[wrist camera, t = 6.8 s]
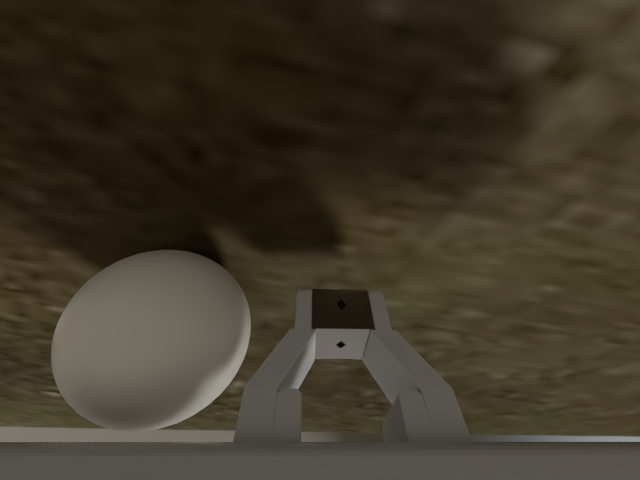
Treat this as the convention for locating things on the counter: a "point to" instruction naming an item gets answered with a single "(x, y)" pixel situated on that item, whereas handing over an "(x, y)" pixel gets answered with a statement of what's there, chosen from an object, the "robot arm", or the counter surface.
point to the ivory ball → (150, 340)
